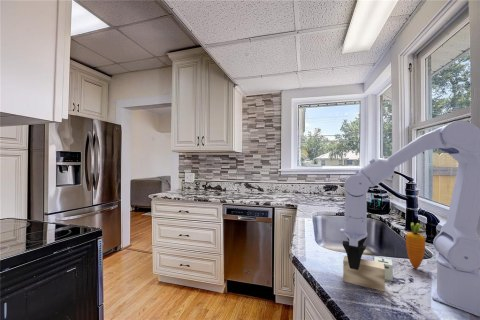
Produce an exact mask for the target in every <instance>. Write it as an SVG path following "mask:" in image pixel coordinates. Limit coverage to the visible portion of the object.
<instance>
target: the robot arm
mask: <svg viewBox="0 0 480 320" xmlns="http://www.w3.org/2000/svg"><path fill="white" fill-rule="evenodd" d="M435 149H436V150H437V149H438V150H439V151H442V152H444V153H446V154H448V155H449V156H450V157H452V159H454V160H455V161H456V162H457V163H458V164H457V165H458V166H457V170H456V171H457V172H456V175H455V181H454V186H453V189H452V190H453V191H452V194H451V195H452V196H451V199H450V204H449V209H448V213H447V219H446V222H445V223H444V224H443V225H442V226H441V227H440V232H439V233H438V234H437V235H435V237H434V239H433V241H432V242H433V244H432V245H433V247H434V249H435V250H436V251H437V253H438V255H437V257H436V290H435V291H434V292H433V295H432V296H431V299H432V300H434V301H437V302H440V303H442V304H445V305H447V306H450V307H453V308H455V309H458V310H462V311H463V312H466V313H469V314H472V315H475V316H477V317H480V236H479V234H478V231H477V229H478V224H479V220H480V128H479V127H477V126H476V125H475V124H474V123H471V122H470V121H466V120H455V121H452V122H449V123H447V124H446V125H445V124H444V126H443V125H442V126H438V127H436V128H434V129H433V130H431V131H429V132H427V133H424V134H422V135H419V136H418V137H416V138H415V139H414V140H412V141H410V142H409V143H407V144H406V145H405V146H403V147H401V148H400V149H398V150H397V151H396V152H394V153H392V154H391V155H390V156H388V157H387V158H383V157H382V158H381V157H377V158H376V159H375V158H372V159H370V160H369V163H368V164H367V165H365V166H363V167H362V168H361V169H359V170H358V169H356V170H355V171H354V173H355V174H351V175H349V176H348V177H347V178H346V179H345V181H344V183H343V185H344V188H345V193H344V197H345V199H344V221H343V222H344V226H343V227H344V228H340V229H339V232H340V233H342V234H344V235H345V237H346V238H347V240H342V246H343V249H344V250H345V253H346V256H347V257H348V263H349V267H350V268H351V269H355V270H358V269H359V266H360V260H361V259H362V257H363V254H364V252H365V251H366V249H367V245H364V244H365V241H366V239H367V237H368V231H367V225H368V223H367V219H368V218H367V216H368V213H367V212H368V209H367V207H368V202H367V193H368V191H369V188H374V187H375V186H377V185H378V184H380V183H382V182H384V181H385V180H387V179H389V178H391V176H393V175H394V174H395V169H396V168H398V166H400V165H402V164H404V163H406V162H408V161H410V160H411V159H413V158H414V157H416V156H418V155H420V154H422V153H423V152H425V151H430V150H435Z"/></svg>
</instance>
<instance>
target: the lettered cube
mask: <svg viewBox="0 0 480 320" xmlns="http://www.w3.org/2000/svg"><path fill="white" fill-rule="evenodd" d="M373 261H374V262H379V263H384V268H385V280H388V281H393V280H394V277H393V274H394V273H393V272H394V271H393V267H394V266H393V260H392V259H390V258H384V257H379V256H374V257H373Z"/></svg>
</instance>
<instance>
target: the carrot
mask: <svg viewBox="0 0 480 320" xmlns="http://www.w3.org/2000/svg"><path fill="white" fill-rule="evenodd" d="M421 228H423V225H420V223H418V222H417V223H414V222H410V229H411V231H410V232H408V233H406V234H405V248H406V252H407V257H408V259H409V262H410V265H411V266H412V267H413V269H415V270H417V269H418V268H419V267H420V265H421V264H422V263H423V260H424V257H425V253H426V252H425V251H426V237H425V236H424V235H422V234H421V231H422V230H421Z"/></svg>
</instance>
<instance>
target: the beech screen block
mask: <svg viewBox="0 0 480 320" xmlns="http://www.w3.org/2000/svg"><path fill="white" fill-rule="evenodd" d="M342 261H343V262H342V264H343V265H342V267H343V271H342V272H343V273H342V277H343V282H345V283H348V284H353V285H357V286H362V287H365V288H369V289H374V290H376V291H381V292H385V290H386V285H385V284H386V283H385V281H386V279H385V268H384V263H379V262H374V260H368V259H364V258H361V260H360V266H359V269H358V270H355V269H351V268H350V267H349V263H348V257H347V255H343V260H342Z"/></svg>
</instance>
